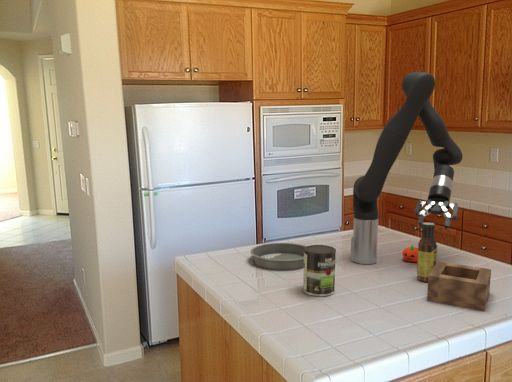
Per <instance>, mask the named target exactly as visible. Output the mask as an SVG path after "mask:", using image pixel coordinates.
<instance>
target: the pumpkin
mask: <svg viewBox="0 0 512 382" xmlns="http://www.w3.org/2000/svg"><path fill="white" fill-rule="evenodd" d="M401 254H402V257H403V260H404V261H406V262H410V263H411V262H413V263H417V260H418V247H414V245H413V244H412V245H410V247H409V246H408V247H405V248H404V249H403V251H402V253H401Z"/></svg>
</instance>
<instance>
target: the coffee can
mask: <svg viewBox="0 0 512 382" xmlns="http://www.w3.org/2000/svg"><path fill="white" fill-rule="evenodd" d="M305 246H306V247H304V267H303V288H302V291H303V292H304V294H307V295H310V296H313V297H328V296H332V295H334V294H335V292H336V290H335V285H336V283H335V282H336V279H335V278H336V277H335V276H336V252H337V249H336V248H335V247H333V246H332V245H327V244H326V245H324V244H311V245H305Z"/></svg>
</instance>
